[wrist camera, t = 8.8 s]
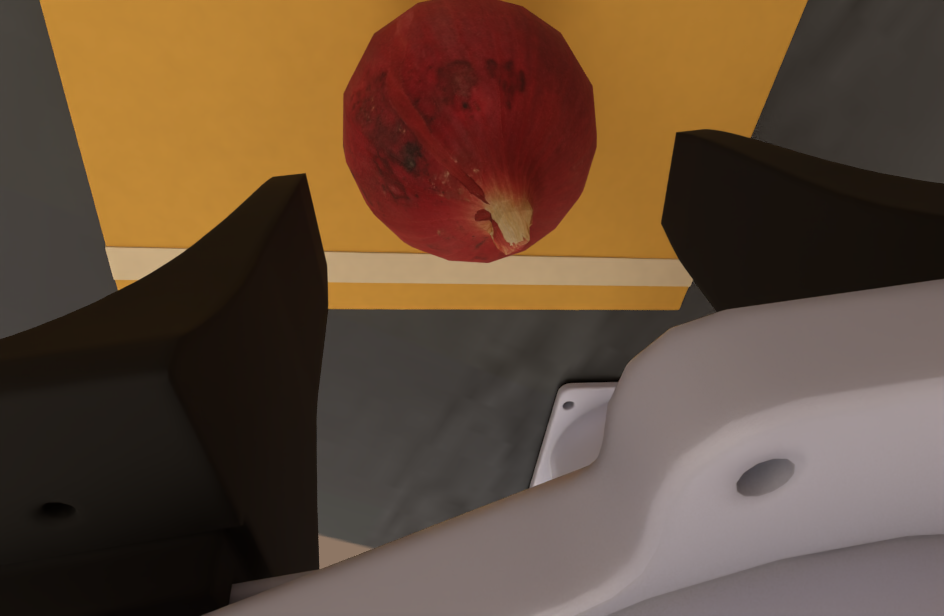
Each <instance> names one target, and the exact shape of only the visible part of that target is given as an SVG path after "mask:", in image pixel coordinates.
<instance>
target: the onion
mask: <svg viewBox="0 0 944 616" xmlns="http://www.w3.org/2000/svg"><path fill="white" fill-rule="evenodd" d="M596 148H597V130H596V118H595V106H594V94H593V86H592V84H591V82H590V81H589V79H588V77H587V76H586V74H585V72H584V70H583V69H582V67H581V65H580V64H579V62H578V60H577V59H576V57H575V55H574V54H573V52H572V50H571V49H570V47H569V45H568V44H567V42H566V40H565V39H564V37H563V35H562V34H561V32H559V31H558V30H556V29H555V28H553V27H552V26H550V25H549V24H548V23H546V22H545V21H543V20H542V19H540V18H539V17H537V16H536V15H535V14H533V13H532V12H530V11H529V10H527V9H526V8H525V7H523V6H520V5H516V4H513V3H509V2H504V1H500V0H429V1H424V2H419V3H417V4H415V5H414V6H413V7H411V8H410V9H408V10H407V11H405V12H404V13H403V14H401V15H400V16H398V17H397V18H396V19H394V20H393V21H391V22H390V23H388V24H387V25H386V26H384V27H383V28H381V29H380V30H378V31H377V32H376V33H374V34H373V36H372V38H371V40H370V42H369V44H368V46H367V48H366V50H365V52H364V54H363V56H362V58H361V60H360V61H359V63H358V65H357V67H356V69H355V71H354V73H353V75H352V77H351V79H350V81H349V83H348V85H347V87H346V89H345V91H344V93H343V149H344V154H345V159H346V163H347V165H348V167H349V169H350V171H351V173H352V176H353V178H354V180H355V182H356V184H357V186H358V188H359V190H360V192H361V194H362V196H363V198H364V200H365V202H366V204H367V205H368V207H369V208H370V210H371V211H372V213H373V214H374V215H375V216H376V217H377V218H378V219H379V220H380V221H381V222H383V223H384V224H385V225H386V226H387V227H388V228H389V229H390V230H391V231H392V232H393V233H394V234H395V235H396V236H398V237H399V238H400V239H401V240H402V241H403V242H404V243H406V244H408V245H409V246H411V247H413V248H416V249H418V250H421V251H424V252H427V253H429V254H432V255H435V256H437V257H440V258H443V259H446V260H448V261H462V262H478V263H490V262H493V261H496V260H499V259H502V258H505V257H508V256H511V255H514V254H517V253H520V252H522V251H525V250H527V249H528V248H529V247H531V246H532V245H534V244H535V243H536V242H538V241H539V240H541V239H542V238H543V237H545V236H546V235H547V234H549V233H550V232H552V231H553V230H554V229H556V227H557V226H558V225H559V223H560V222H561V221H562V220H563V218H564V217H565V216H566V214H567V213H568V212H569V210H570V209H571V208H572V207H573V205H574V204H575V203H576V201H577V200H578V199H579V197H580V196H581V194H582V192H583V190H584V187H585V184H586V180H587V177H588V174H589V171H590V167H591V164H592V161H593V158H594V155H595V151H596Z"/></svg>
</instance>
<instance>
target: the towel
mask: <svg viewBox="0 0 944 616" xmlns="http://www.w3.org/2000/svg"><path fill="white" fill-rule="evenodd" d="M424 1H429V0H40V3H41V7H42V11H43V14H44V18H45V22H46V26H47V29H48V33H49V37H50V40H51V44H52V48H53V51H54V55H55V59H56V62H57V66H58V70H59V74H60V77H61V81H62V85H63V88H64V92H65V96H66V99H67V103H68V107H69V111H70V114H71V118H72V122H73V125H74V129H75V133H76V136H77V140H78V144H79V147H80V151H81V155H82V159H83V162H84V166H85V170H86V173H87V177H88V181H89V184H90V188H91V192H92V195H93V199H94V203H95V207H96V210H97V214H98V218H99V221H100V225H101V229H102V232H103V236H104V240H105V243H106V246H105V249H106V253H107V256H108V260H109V264H110V267H111V271H112V275H113V278H114V280H116V284H117V288H118V290H120V289H122V288H124V287H126V286H128V285H130V284H132V283H134V282H136V281H137V280H139V279H141V278H143V277H145V276H147V275H148V274H150V273H152V272H153V271H155V270H156V269H158V268H160V267H161V266H163V265H164V264H166V263H168V262H169V261H171V260H172V259H174V258H175V257H177V256H178V255H180V254H181V253H183V252H184V251H185V250H187V249H188V248H189V247H191V246H192V245H193V244H195V243H196V242H197V241H198V240H200V239H201V238H202V237H203V236H205V235H206V234H207V233H208V232H210V231H211V230H212V229H213V228H214V227H216V226H217V225H218V224H219V223H221V222H222V221H223V220H224V219H225V218H227V217H228V216H229V215H230V214H231V213H232V212H233V211H234V210H235V209H236V208H237V207H239V206H240V205H241V204H242V203H243V202H244V201H245V200H246V199H247V198H248V197H249V196H250V195H252V194H253V193H254V192H255V191H256V190H257V189H258V188H259V187H260V186H261V185H262V184H264V183H265V182H266V181H267V180H268V179H270V178H271V177H275V176H284V175H293V174H302V173H306V176H307V180H308V185H309V189H310V193H311V198H312V202H313V206H314V210H315V215H316V219H317V223H318V228H319V232H320V236H321V241H322V245H323V249H324V253H325V258H326V262H327V273H328V309H499V310H679V309H680V306H681V304H682V301H683V299H684V297H685V294H686V292H687V289H688V287H690V286H691V284H692V281H693V279H692V278H691V276H690V275H689V273H688V272H687V271H686V269H685V268H684V266H683V265H682V264H681V262H680V261H679V259H678V257H677V255H676V253H675V252H674V250H673V248H672V246H671V244H670V242H669V240H668V238H667V235H666V233H665V231H664V229H663V227H662V225H661V219H662V213H663V207H664V201H665V195H666V189H667V183H668V177H669V171H670V166H671V160H672V154H673V148H674V142H675V136H676V132H682V131H691V130H700V129H712V130H719V131H724V132H729V133H733V134H737V135H741V136H745V137H748V138H751V136H752V133H753V131H754V128H755V126H756V124H757V121H758V119H759V116H760V114H761V111H762V109H763V107H764V104H765V102H766V99H767V97H768V95H769V92H770V90H771V87H772V85H773V83H774V80H775V78H776V75H777V73H778V71H779V68H780V66H781V63H782V61H783V59H784V56H785V54H786V51H787V49H788V47H789V44H790V42H791V39H792V37H793V35H794V32H795V30H796V27H797V25H798V23H799V20H800V18H801V15H802V13H803V11H804V8H805V6H806V3H807V1H808V0H500V1H504V2H509V3H513V4H516V5H520V6H523V7H525V8H526V9H527V10H529V11H530V12H532V13H533V14H535V15H536V16H537V17H539V18H540V19H542V20H543V21H545V22H546V23H548V24H549V25H550V26H552V27H553V28H555V29H556V30H558V31H559V32H561V34H562V35H563V37H564V39H565V40H566V42H567V44H568V45H569V47H570V49H571V50H572V52H573V54H574V55H575V57H576V59H577V60H578V62H579V64H580V65H581V67H582V69H583V70H584V72H585V74H586V76H587V77H588V79H589V81H590V82H591V84H592V86H593V94H594V106H595V118H596V130H597V148H596V151H595V155H594V158H593V161H592V164H591V167H590V171H589V174H588V177H587V180H586V184H585V187H584V190H583V192H582V194H581V196H580V197H579V199H578V200H577V201H576V203H575V204H574V205H573V207H572V208H571V209H570V210H569V212H568V213H567V214H566V216H565V217H564V218H563V220H562V221H561V222H560V223H559V225H558V226H557V227H556V229H554V230H553V231H552V232H550V233H549V234H547V235H546V236H545V237H543V238H542V239H541V240H539V241H538V242H536V243H535V244H534V245H532V246H531V247H529V248H528V249H527V250H525V251H522V252H520V253H517V254H514V255H511V256H508V257H505V258H502V259H499V260H496V261H493V262H490V263H478V262H462V261H448V260H446V259H443V258H440V257H437V256H435V255H432V254H429V253H427V252H424V251H421V250H418V249H416V248H413V247H411V246H409V245H408V244H406V243H404V242H403V241H402V240H401V239H400V238H399V237H398V236H396V235H395V234H394V233H393V232H392V231H391V230H390V229H389V228H388V227H387V226H386V225H385V224H384V223H383V222H381V221H380V220H379V219H378V218H377V217H376V216H375V215H374V214H373V213H372V211H371V210H370V208H369V207H368V205H367V204H366V202H365V200H364V198H363V196H362V194H361V192H360V190H359V188H358V186H357V184H356V182H355V180H354V178H353V176H352V173H351V171H350V169H349V167H348V165H347V163H346V159H345V154H344V149H343V93H344V91H345V89H346V87H347V85H348V83H349V81H350V79H351V77H352V75H353V73H354V71H355V69H356V67H357V65H358V63H359V61H360V60H361V58H362V56H363V54H364V52H365V50H366V48H367V46H368V44H369V42H370V40H371V38H372V36H373V34H374V33H376V32H377V31H378V30H380V29H381V28H383V27H384V26H386V25H387V24H388V23H390V22H391V21H393V20H394V19H396V18H397V17H398V16H400V15H401V14H403V13H404V12H405V11H407V10H408V9H410V8H411V7H413V6H414V5H415V4H417V3H419V2H424Z"/></svg>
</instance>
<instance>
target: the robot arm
mask: <svg viewBox="0 0 944 616" xmlns="http://www.w3.org/2000/svg"><path fill="white" fill-rule="evenodd" d="M661 225H662V227H663V229H664V231H665V233H666V235H667V238H668V240H669V242H670V244H671V246H672V248H673V250H674V252H675V253H676V255H677V257H678V259H679V261H680V262H681V264H682V265H683V266H684V268H685V269H686V271H687V272H688V273H689V275H690V276H691V278H692V279H693V280H694V282H695V283H696V285H697V286H698V287H699V289H700V290H701V291H702V293H703V294H704V295H705V297H706V298H707V299H708V301H709V302H710V303H711V305H712V306H713V307H714V309H715V310H716V311H717V312H716V313H713V314H710V315H707V316H705V317H702V318H699V319H696V320H693V321H690V322H687V323H684V324H681V325H678V326H675V327H672V328H670V329H669V330H667V331H666V332H665V333H664V334H662V335H661V336H660V337H659V338H658V339H656V340H655V341H654V342H653V343H651V344H650V345H649V346H648V347H646V348H645V349H644V350H643V351H641V352H640V353H639V354H638V355H637V356H635V357H634V358H633V359H632V360H631V361H630V362H629V363H628V364H627V365H626V367H625V369H624V371H623V373H622V375H621V378H620V380H619V382H592V383H568V384H565V385H563V386H562V387H561V388H559V390H558V392H557V395H556V399H555V402H554V406H553V409H552V412H551V416H550V419H549V423H548V426H547V429H546V433H545V436H544V439H543V443H542V446H541V450H540V453H539V456H538V460H537V463H536V466H535V470H534V473H533V477H532V480H531V483H530V487H529V489H526V490H524V491H521V492H518V493H516V494H513V495H511V496H508V497H506V498H503V499H500V500H498V501H495V502H493V503H490V504H487V505H485V506H482V507H480V508H477V509H475V510H472V511H469V512H467V513H464V514H462V515H459V516H457V517H454V518H451V519H449V520H446V521H444V522H441V523H439V524H436V525H433V526H431V527H428V528H426V529H423V530H420V531H418V532H415V533H413V534H410V535H408V536H405V537H402V538H400V539H397V540H395V541H392V542H390V543H387V544H384V545H382V546H379V547H377V548H374V549H372V550H369V551H366V552H364V553H361V554H359V555H356V556H354V557H351V558H348V559H346V560H343V561H341V562H338V563H336V564H333V565H330V566H328V567H325V568H323V569H319V546H318V513H317V425H316V417H317V400H318V390H319V382H320V373H321V365H322V357H323V349H324V341H325V332H326V323H327V315H328V273H327V262H326V258H325V253H324V249H323V245H322V241H321V236H320V232H319V228H318V223H317V219H316V215H315V210H314V206H313V202H312V198H311V193H310V189H309V185H308V180H307V176H306V173H302V174H293V175H284V176H275V177H271V178H270V179H268V180H267V181H266V182H265V183H264V184H262V185H261V186H260V187H259V188H258V189H257V190H256V191H255V192H254V193H253V194H252V195H250V196H249V197H248V198H247V199H246V200H245V201H244V202H243V203H242V204H241V205H240V206H239V207H237V208H236V209H235V210H234V211H233V212H232V213H231V214H230V215H229V216H228V217H227V218H225V219H224V220H223V221H222V222H221V223H219V224H218V225H217V226H216V227H214V228H213V229H212V230H211V231H210V232H208V233H207V234H206V235H205V236H203V237H202V238H201V239H200V240H198V241H197V242H196V243H195V244H193V245H192V246H191V247H189V248H188V249H187V250H185V251H184V252H183V253H181V254H180V255H178V256H177V257H175V258H174V259H172V260H171V261H169V262H168V263H166V264H164V265H163V266H161V267H160V268H158V269H156V270H155V271H153V272H152V273H150V274H148V275H147V276H145V277H143V278H141V279H139V280H137V281H136V282H134V283H132V284H130V285H128V286H126V287H124V288H122V289H120V290H118V291H116V292H114V293H112V294H110V295H108V296H106V297H105V298H103V299H101V300H99V301H97V302H95V303H92V304H90V305H88V306H86V307H83V308H81V309H79V310H76V311H74V312H72V313H69V314H67V315H65V316H62V317H60V318H57V319H55V320H52V321H50V322H47V323H45V324H42V325H40V326H37V327H34V328H32V329H29V330H26V331H23V332H21V333H18V334H15V335H12V336H9V337H6V338H3V339H0V616H944V184H941V183H934V182H927V181H921V180H915V179H910V178H904V177H899V176H893V175H888V174H882V173H878V172H873V171H868V170H864V169H859V168H855V167H851V166H848V165H844V164H840V163H836V162H832V161H828V160H824V159H820V158H817V157H813V156H810V155H806V154H803V153H799V152H796V151H792V150H789V149H786V148H782V147H779V146H776V145H772V144H769V143H765V142H762V141H759V140H755V139H752V138H748V137H745V136H741V135H737V134H733V133H729V132H724V131H719V130H712V129H700V130H691V131H682V132H676V136H675V142H674V148H673V154H672V160H671V166H670V171H669V177H668V183H667V189H666V195H665V201H664V207H663V213H662V219H661ZM568 401H569V402H568ZM566 402H567V403H566Z"/></svg>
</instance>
